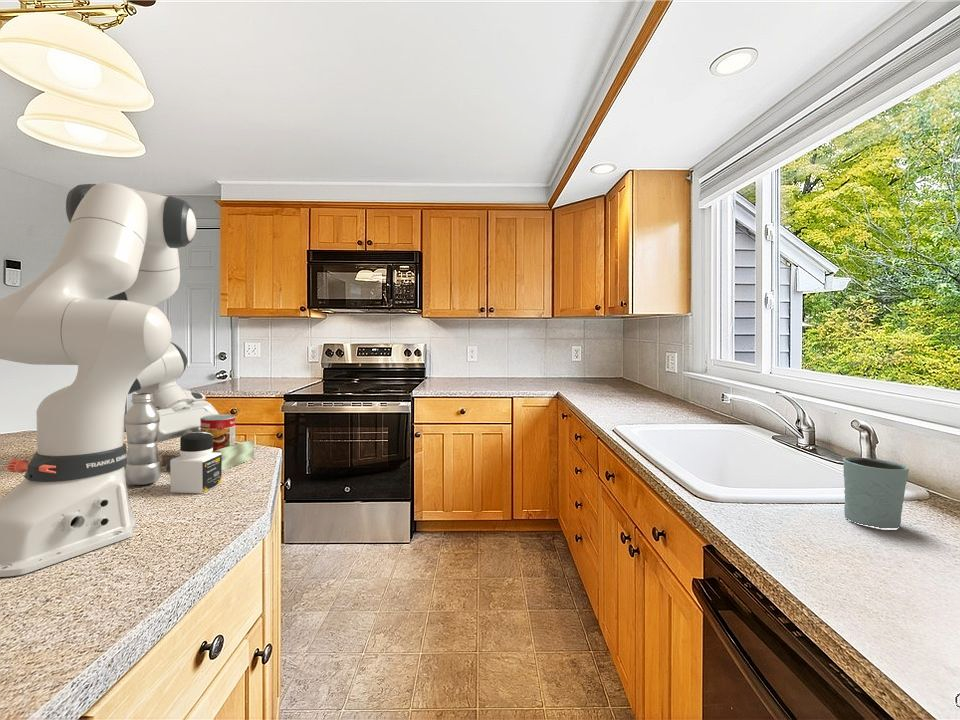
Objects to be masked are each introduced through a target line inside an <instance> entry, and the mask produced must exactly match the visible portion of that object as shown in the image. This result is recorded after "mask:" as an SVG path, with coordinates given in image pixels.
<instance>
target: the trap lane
mask: <svg viewBox="0 0 960 720" xmlns="http://www.w3.org/2000/svg"><path fill="white" fill-rule="evenodd" d="M254 451H255V440H250V439H249V440H246V441H242V442H235V445H232V446H228V447H225V448H222V449H218V450H215V453H221V454H222V470H223V471H225V470H227V468H228V469H231V468H233V466H234V467H236V466H239V465H242V464H244V463H243V462H245V463H247V462H249V460H250V461H252V460H251V459H253V460H254V459H255V455H254V454H255V452H254ZM181 455H182V454H178V455H173V454H163V455H161V465H162V466H165V465H167V466H166V471H167V472H170V460H171V459H174V458H176V457H179V456H181ZM246 461H247V462H246ZM241 463H242V464H241ZM238 464H239V465H238ZM235 465H236V466H235ZM230 467H231V468H230Z"/></svg>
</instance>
